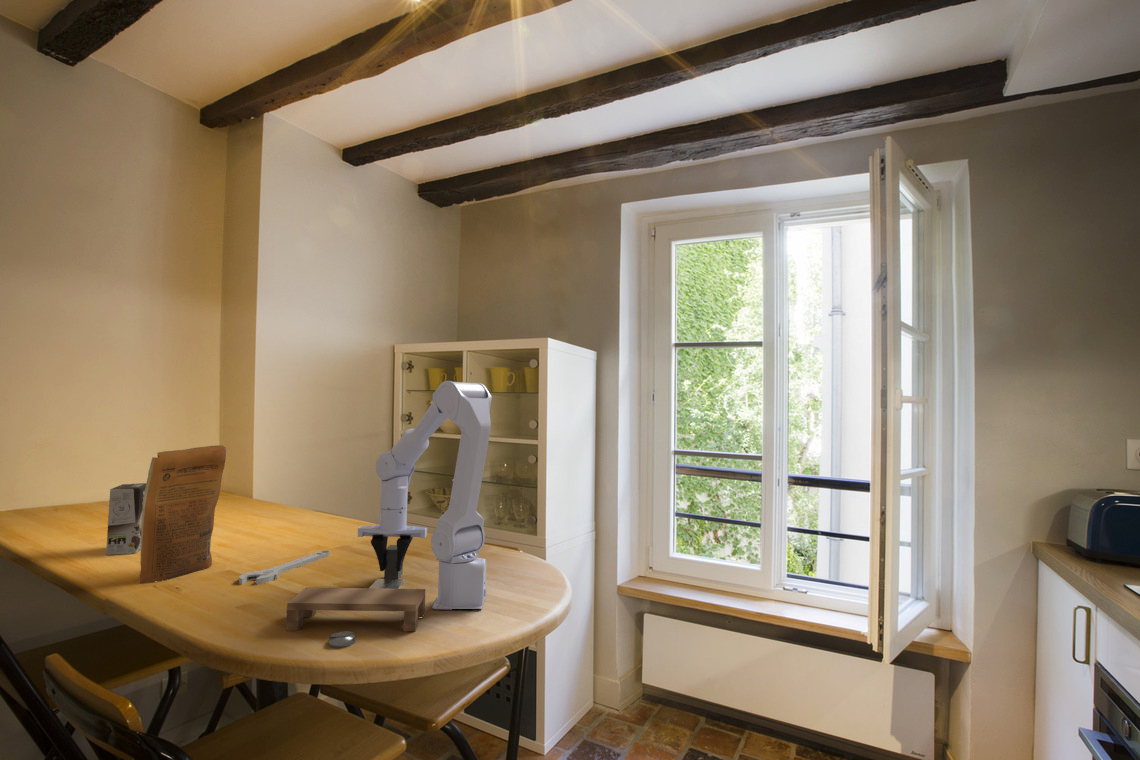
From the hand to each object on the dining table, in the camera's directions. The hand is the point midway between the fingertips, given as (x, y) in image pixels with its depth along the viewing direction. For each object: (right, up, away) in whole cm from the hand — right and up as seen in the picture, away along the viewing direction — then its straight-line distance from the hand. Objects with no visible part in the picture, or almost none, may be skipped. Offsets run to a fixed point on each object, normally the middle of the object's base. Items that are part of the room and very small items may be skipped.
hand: (391, 569), depth 124 cm
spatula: (0, -3, -5) cm, 5 cm away
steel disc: (+1, -2, -31) cm, 31 cm away
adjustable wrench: (-25, -3, +7) cm, 27 cm away
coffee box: (-72, -1, +18) cm, 74 cm away
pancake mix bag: (-47, -2, +2) cm, 47 cm away
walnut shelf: (+1, -2, -22) cm, 22 cm away
